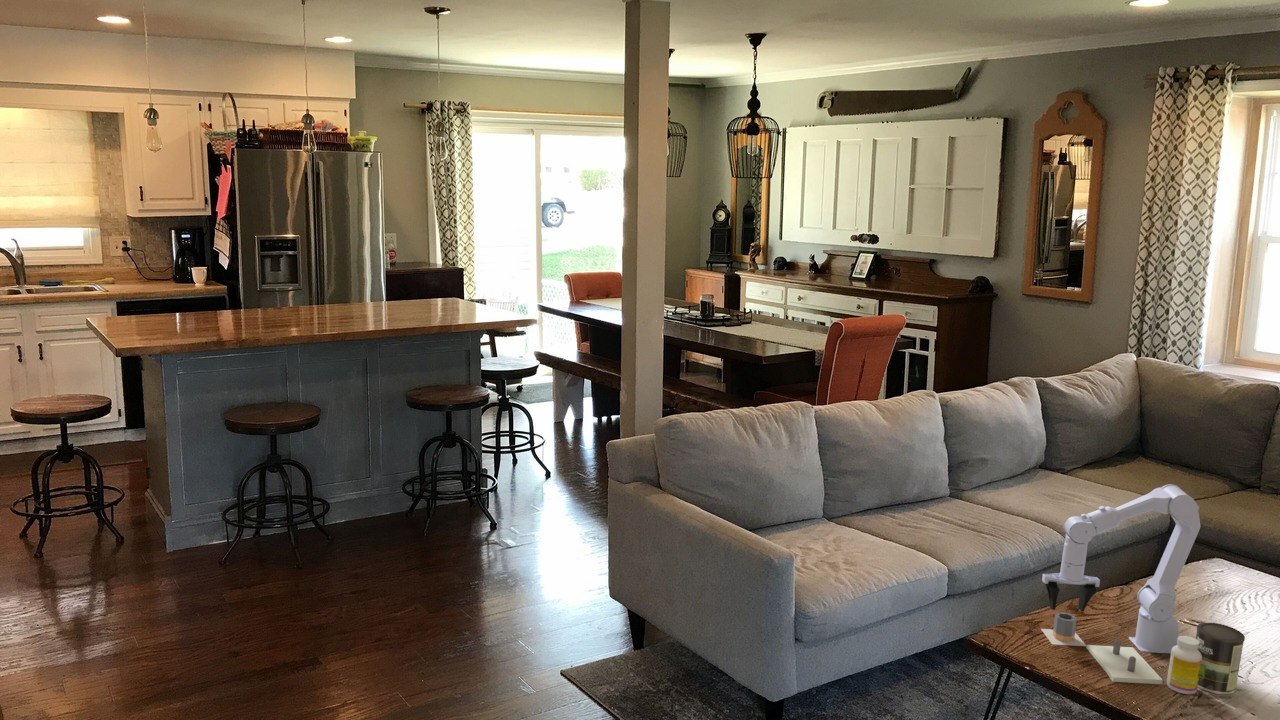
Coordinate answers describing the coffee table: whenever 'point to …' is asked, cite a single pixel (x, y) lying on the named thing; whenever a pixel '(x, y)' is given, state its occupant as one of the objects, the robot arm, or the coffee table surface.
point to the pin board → (1124, 664)
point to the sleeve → (1064, 627)
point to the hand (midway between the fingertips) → (1066, 609)
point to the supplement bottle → (1184, 666)
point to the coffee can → (1219, 657)
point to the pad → (1075, 642)
